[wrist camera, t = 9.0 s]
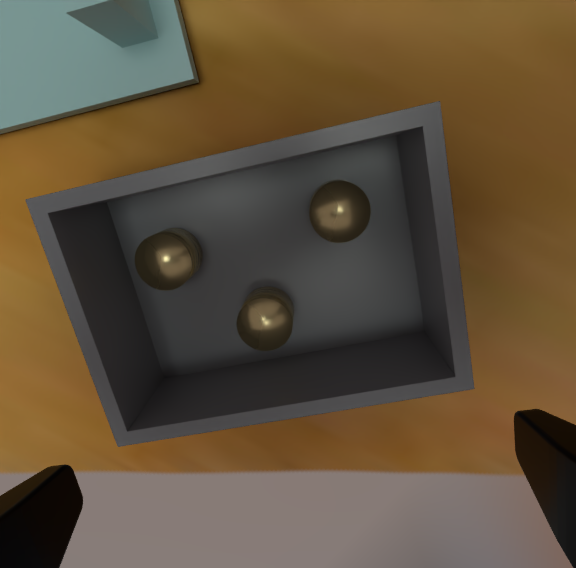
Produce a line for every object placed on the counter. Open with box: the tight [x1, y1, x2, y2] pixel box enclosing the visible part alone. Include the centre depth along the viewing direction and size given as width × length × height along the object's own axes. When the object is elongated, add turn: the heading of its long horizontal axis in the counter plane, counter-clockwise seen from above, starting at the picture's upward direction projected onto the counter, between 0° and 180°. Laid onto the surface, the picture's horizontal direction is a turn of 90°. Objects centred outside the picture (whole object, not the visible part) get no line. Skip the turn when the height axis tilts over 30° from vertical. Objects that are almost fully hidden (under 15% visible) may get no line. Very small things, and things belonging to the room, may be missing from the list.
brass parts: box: [135, 180, 371, 351], centre depth 18 cm, size 10×6×2 cm, turn 103°
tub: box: [26, 101, 474, 447], centre depth 17 cm, size 14×10×5 cm
